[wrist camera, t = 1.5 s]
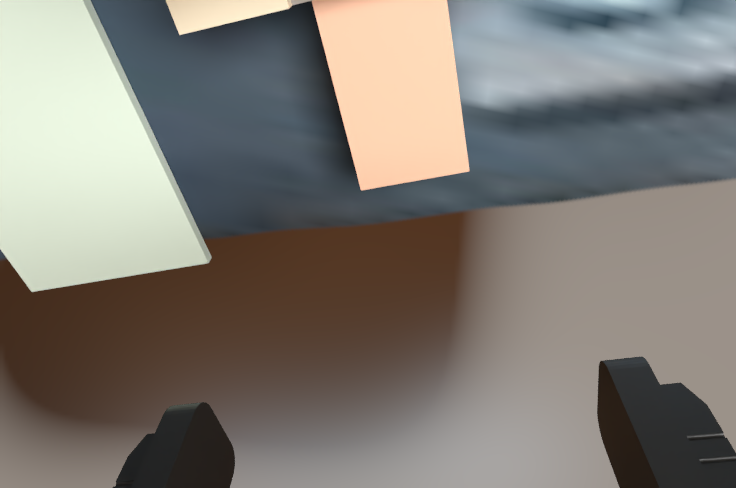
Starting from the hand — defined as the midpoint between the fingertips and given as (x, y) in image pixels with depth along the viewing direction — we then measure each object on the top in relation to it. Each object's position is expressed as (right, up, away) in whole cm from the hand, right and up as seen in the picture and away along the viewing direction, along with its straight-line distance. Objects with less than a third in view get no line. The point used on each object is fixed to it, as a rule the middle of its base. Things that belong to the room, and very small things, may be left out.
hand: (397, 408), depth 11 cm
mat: (-18, +8, +17) cm, 26 cm away
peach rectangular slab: (0, +14, +13) cm, 19 cm away
